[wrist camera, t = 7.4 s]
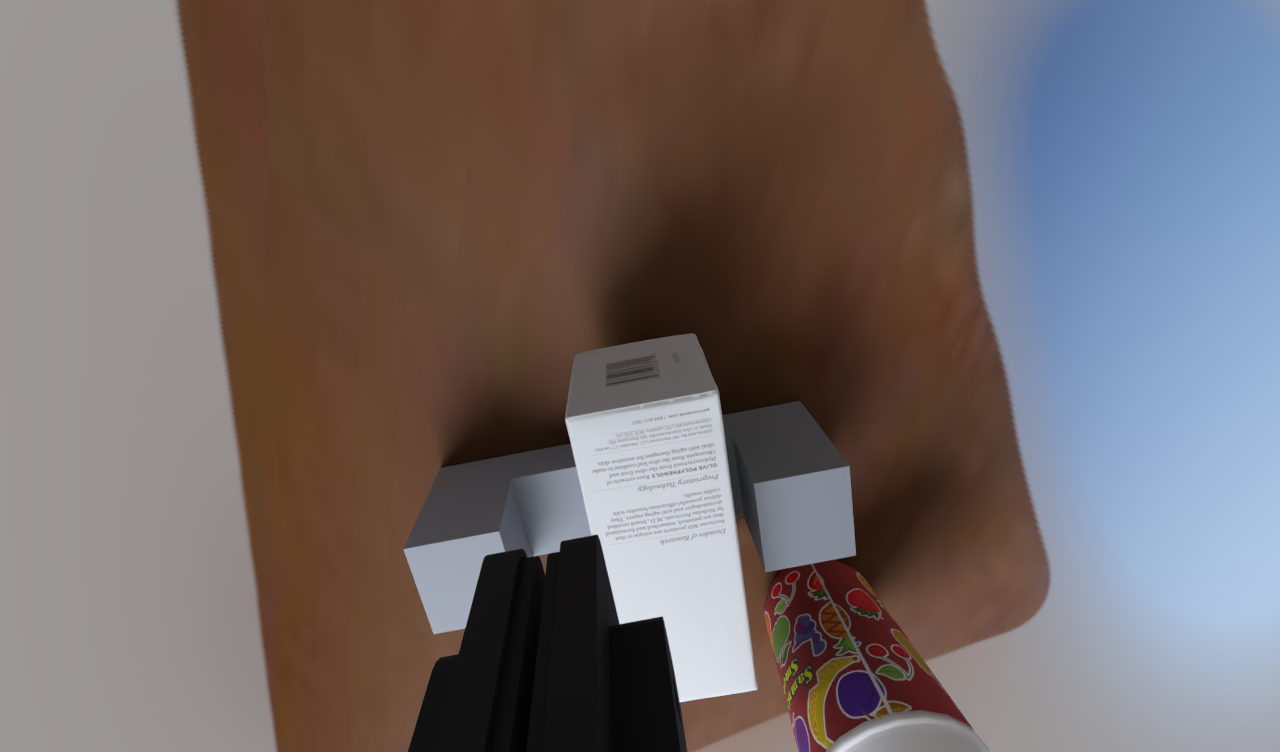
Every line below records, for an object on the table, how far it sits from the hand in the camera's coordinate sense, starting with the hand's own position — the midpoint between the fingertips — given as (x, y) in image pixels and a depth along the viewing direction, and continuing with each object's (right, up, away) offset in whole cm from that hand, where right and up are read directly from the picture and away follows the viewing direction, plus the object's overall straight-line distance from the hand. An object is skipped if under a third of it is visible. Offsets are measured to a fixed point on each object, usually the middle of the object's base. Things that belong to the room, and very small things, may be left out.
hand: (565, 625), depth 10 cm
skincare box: (+1, +4, +19) cm, 20 cm away
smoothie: (+12, -10, +33) cm, 37 cm away
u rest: (0, -2, +29) cm, 30 cm away
